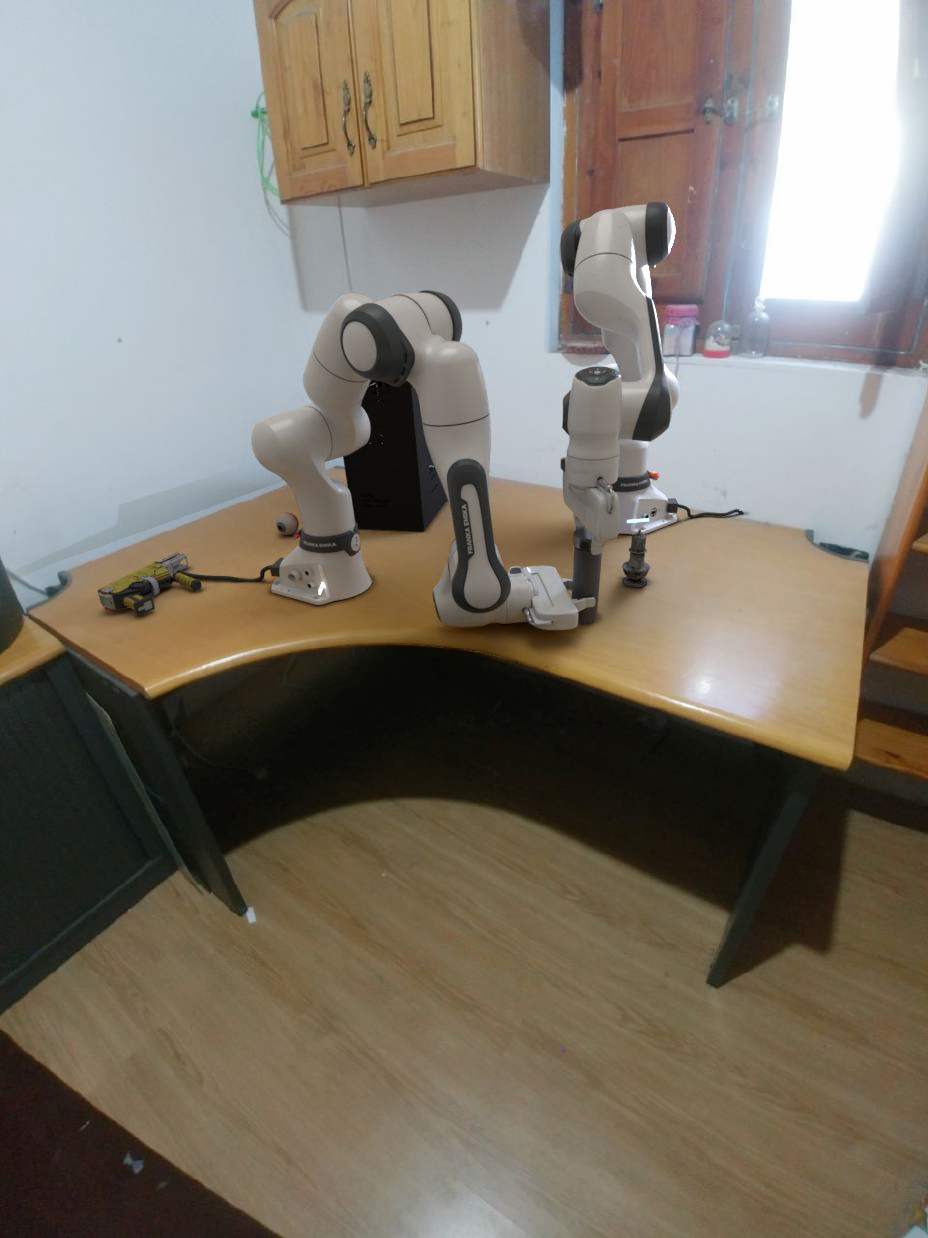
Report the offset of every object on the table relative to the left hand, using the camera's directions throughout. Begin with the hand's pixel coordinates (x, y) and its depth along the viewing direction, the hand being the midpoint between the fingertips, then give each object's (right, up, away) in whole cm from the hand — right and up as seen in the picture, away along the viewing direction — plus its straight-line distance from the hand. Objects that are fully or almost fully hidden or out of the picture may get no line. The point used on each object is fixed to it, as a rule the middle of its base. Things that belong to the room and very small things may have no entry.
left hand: (589, 592), depth 116 cm
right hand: (-1, +9, -5) cm, 10 cm away
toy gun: (-92, +1, +22) cm, 95 cm away
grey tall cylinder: (-1, -5, +3) cm, 5 cm away
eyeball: (-72, +18, +49) cm, 89 cm away
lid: (-1, +10, -6) cm, 12 cm away
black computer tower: (-40, +29, +64) cm, 81 cm away
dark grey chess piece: (+13, +3, +14) cm, 19 cm away
